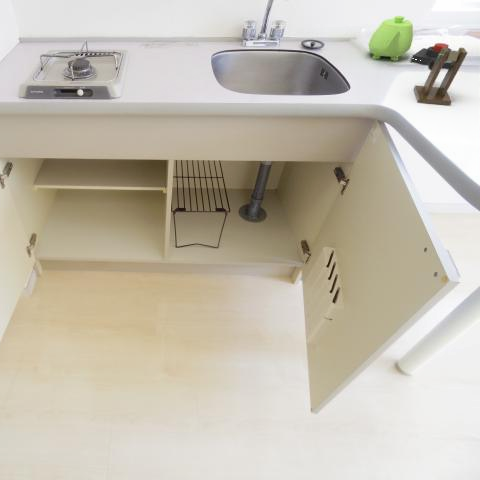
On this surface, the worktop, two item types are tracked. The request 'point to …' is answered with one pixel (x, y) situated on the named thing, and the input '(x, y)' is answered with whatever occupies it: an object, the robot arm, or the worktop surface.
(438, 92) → the brown wooden stand
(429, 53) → the button box
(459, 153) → the worktop surface
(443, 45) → the button
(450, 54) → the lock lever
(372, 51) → the teapot
